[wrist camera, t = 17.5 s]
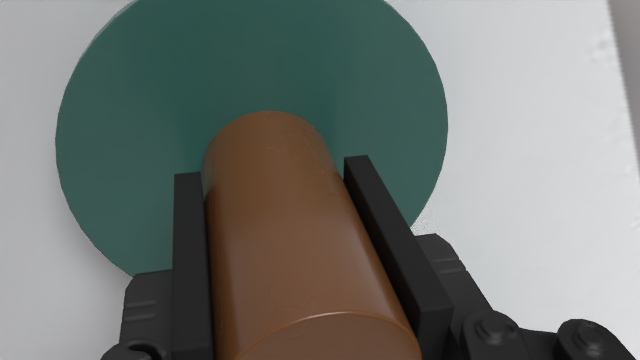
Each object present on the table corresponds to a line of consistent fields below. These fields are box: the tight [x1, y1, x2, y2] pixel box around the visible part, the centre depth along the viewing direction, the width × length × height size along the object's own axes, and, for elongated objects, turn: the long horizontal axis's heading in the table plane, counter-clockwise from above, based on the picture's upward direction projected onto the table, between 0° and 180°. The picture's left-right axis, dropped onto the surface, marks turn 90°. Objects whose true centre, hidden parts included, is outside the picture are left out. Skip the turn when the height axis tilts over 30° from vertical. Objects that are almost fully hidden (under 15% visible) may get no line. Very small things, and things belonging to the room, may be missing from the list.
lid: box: [55, 0, 448, 360], centre depth 15 cm, size 13×13×10 cm
